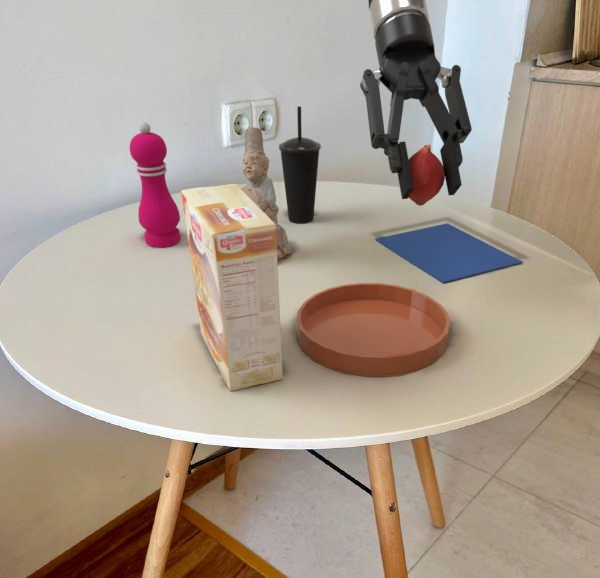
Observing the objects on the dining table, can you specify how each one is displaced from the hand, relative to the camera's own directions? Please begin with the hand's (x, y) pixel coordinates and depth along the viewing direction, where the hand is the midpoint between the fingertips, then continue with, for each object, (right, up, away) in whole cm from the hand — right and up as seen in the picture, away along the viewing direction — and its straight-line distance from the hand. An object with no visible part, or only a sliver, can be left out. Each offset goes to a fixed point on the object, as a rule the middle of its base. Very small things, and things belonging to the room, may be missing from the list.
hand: (431, 191), depth 77 cm
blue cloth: (+8, -2, +25) cm, 26 cm away
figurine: (-23, -2, +25) cm, 34 cm away
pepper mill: (-42, +2, +31) cm, 52 cm away
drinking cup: (-17, +8, +39) cm, 43 cm away
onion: (-1, 0, +5) cm, 5 cm away
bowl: (-8, -18, +3) cm, 20 cm away
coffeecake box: (-25, -22, -1) cm, 33 cm away
